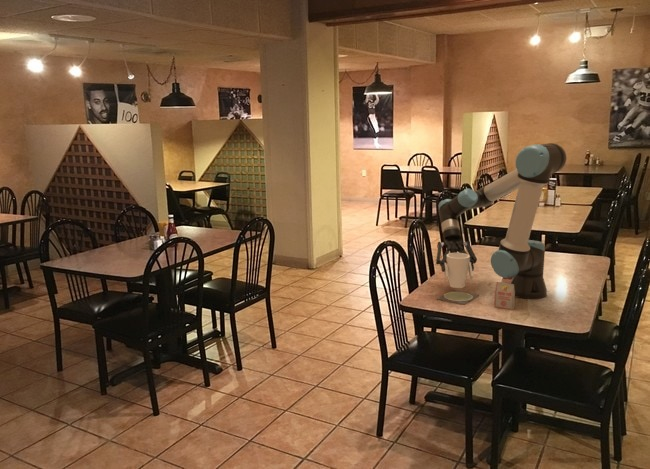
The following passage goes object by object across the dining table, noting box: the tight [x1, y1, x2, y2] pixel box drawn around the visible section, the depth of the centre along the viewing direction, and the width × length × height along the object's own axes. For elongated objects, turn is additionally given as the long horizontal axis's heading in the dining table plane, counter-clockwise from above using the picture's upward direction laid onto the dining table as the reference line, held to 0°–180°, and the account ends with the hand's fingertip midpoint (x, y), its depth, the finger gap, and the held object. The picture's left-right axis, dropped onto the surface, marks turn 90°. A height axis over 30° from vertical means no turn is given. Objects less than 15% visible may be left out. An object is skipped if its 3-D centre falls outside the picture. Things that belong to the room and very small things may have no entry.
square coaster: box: [436, 289, 480, 306], centre depth 238 cm, size 12×14×1 cm
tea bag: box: [493, 281, 516, 311], centre depth 225 cm, size 4×7×10 cm, turn 56°
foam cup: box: [445, 252, 470, 289], centre depth 237 cm, size 10×9×13 cm
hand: (459, 277), depth 234 cm, fingers closed on foam cup, 9 cm apart
